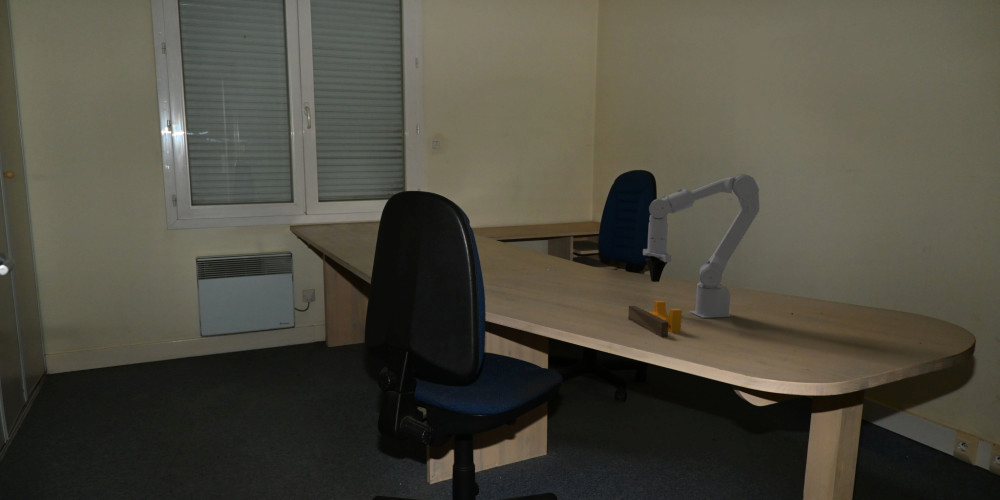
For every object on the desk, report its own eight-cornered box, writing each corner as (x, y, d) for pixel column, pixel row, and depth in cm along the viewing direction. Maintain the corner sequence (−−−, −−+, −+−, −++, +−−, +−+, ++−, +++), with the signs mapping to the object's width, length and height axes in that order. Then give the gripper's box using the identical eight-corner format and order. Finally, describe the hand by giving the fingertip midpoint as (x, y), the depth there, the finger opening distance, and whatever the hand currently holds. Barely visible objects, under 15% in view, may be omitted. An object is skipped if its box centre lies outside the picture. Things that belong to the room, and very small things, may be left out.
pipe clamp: (647, 322, 194) (648, 301, 194) (661, 322, 195) (662, 300, 194) (665, 333, 183) (667, 310, 182) (680, 333, 184) (681, 310, 183)
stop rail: (634, 318, 198) (635, 305, 198) (667, 336, 179) (668, 322, 178) (628, 319, 198) (628, 305, 197) (661, 337, 179) (661, 322, 178)
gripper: (635, 235, 211) (633, 277, 213) (657, 241, 197) (654, 286, 199) (655, 235, 213) (653, 276, 215) (678, 240, 199) (675, 285, 201)
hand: (655, 281), depth 207 cm, fingers closed
